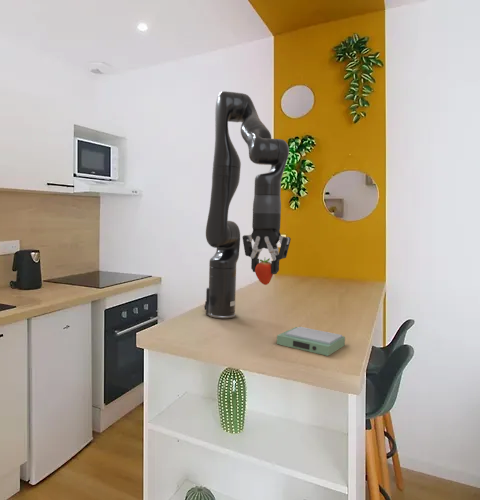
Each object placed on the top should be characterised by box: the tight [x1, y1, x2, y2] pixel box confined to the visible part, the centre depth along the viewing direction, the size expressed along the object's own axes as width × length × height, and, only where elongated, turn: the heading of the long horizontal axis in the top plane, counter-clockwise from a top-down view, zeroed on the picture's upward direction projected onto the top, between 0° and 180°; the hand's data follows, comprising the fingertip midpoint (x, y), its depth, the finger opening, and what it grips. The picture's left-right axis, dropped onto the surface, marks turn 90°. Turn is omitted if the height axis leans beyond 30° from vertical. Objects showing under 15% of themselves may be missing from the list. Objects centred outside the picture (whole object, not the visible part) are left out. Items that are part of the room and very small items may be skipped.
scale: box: [276, 326, 346, 357], centre depth 114 cm, size 14×12×3 cm
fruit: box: [254, 257, 274, 286], centre depth 117 cm, size 5×5×8 cm
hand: (264, 272), depth 117 cm, fingers closed on fruit, 5 cm apart
